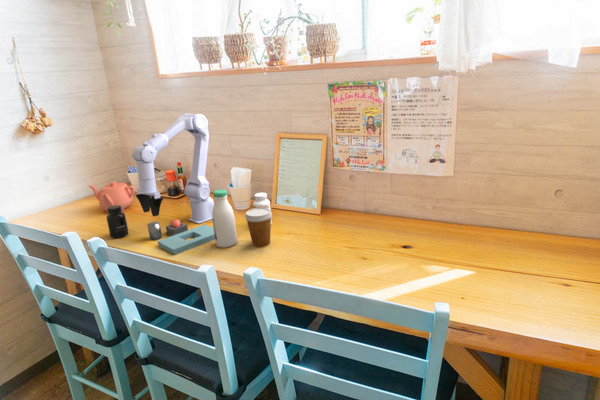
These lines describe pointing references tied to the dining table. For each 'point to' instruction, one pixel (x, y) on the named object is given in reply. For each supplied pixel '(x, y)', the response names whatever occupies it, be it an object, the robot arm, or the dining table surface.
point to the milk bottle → (223, 220)
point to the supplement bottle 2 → (261, 201)
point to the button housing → (176, 229)
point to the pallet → (179, 242)
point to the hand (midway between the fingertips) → (151, 213)
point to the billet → (154, 231)
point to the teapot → (114, 195)
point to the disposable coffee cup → (259, 226)
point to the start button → (175, 223)
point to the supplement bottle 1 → (117, 222)
